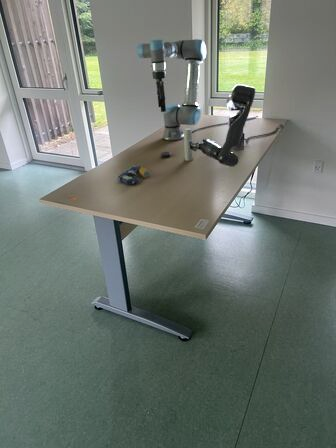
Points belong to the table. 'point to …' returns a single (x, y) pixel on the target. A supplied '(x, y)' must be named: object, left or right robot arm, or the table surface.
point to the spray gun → (133, 172)
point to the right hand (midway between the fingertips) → (196, 141)
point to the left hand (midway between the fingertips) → (162, 109)
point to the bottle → (186, 143)
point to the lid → (165, 154)
